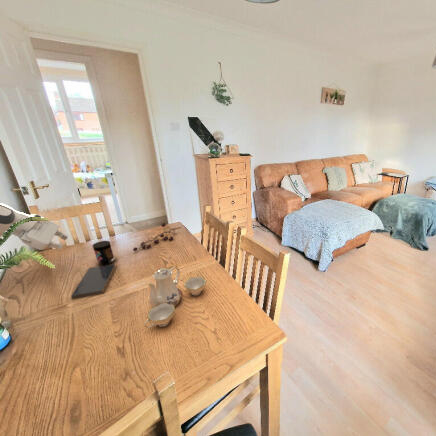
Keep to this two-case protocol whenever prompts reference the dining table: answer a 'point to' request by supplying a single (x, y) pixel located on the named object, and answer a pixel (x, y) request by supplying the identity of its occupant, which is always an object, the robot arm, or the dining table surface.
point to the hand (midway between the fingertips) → (64, 242)
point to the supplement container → (103, 253)
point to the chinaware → (169, 295)
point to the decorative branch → (157, 238)
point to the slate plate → (94, 281)
